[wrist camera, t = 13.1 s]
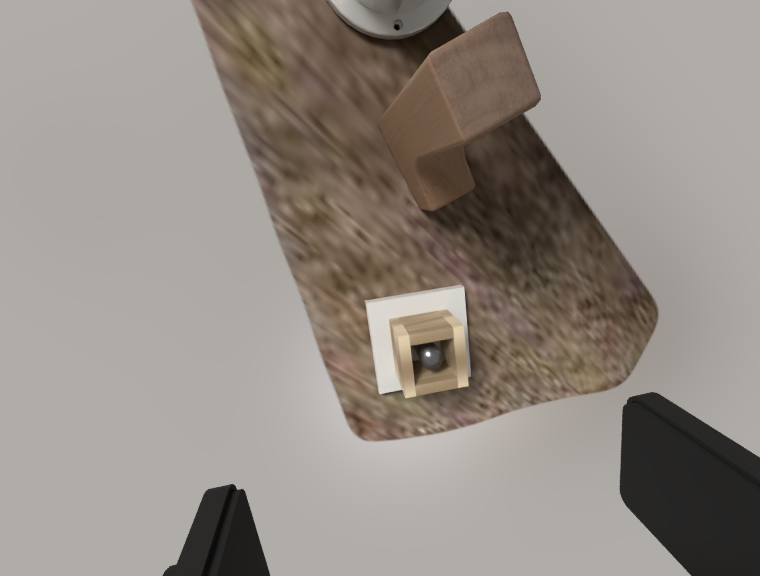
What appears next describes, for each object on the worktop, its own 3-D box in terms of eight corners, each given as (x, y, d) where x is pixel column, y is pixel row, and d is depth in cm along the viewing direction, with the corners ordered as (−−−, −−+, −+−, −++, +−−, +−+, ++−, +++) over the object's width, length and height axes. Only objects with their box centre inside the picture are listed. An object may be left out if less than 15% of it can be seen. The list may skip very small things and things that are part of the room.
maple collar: (388, 319, 38) (397, 337, 34) (446, 309, 39) (463, 325, 34) (395, 373, 40) (405, 398, 35) (451, 362, 41) (468, 385, 36)
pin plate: (365, 300, 39) (371, 317, 33) (460, 284, 40) (481, 298, 34) (378, 389, 41) (386, 418, 36) (467, 372, 42) (488, 398, 37)
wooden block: (460, 188, 37) (577, 184, 20) (419, 211, 37) (502, 227, 20) (418, 97, 35) (511, 4, 18) (375, 122, 35) (425, 53, 18)
